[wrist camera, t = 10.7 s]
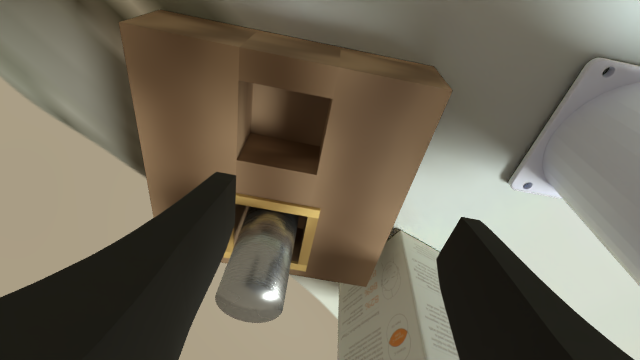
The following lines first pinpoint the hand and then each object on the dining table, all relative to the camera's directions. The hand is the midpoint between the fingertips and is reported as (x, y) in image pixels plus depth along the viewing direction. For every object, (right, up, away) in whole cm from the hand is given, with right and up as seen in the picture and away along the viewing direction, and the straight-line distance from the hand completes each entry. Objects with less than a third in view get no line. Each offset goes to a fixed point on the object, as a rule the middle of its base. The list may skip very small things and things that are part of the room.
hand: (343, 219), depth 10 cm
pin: (-4, 0, +11) cm, 12 cm away
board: (-3, +3, +10) cm, 11 cm away
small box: (+5, -6, +16) cm, 18 cm away
